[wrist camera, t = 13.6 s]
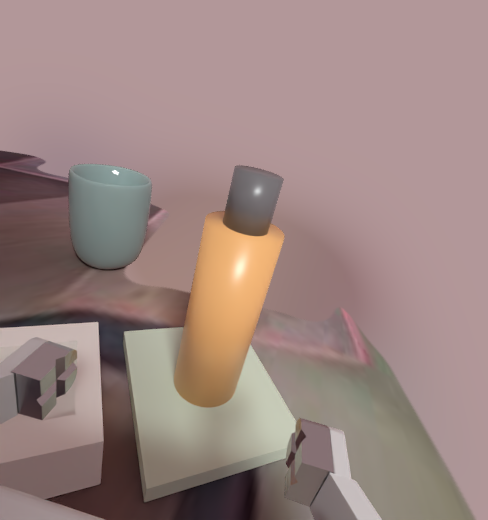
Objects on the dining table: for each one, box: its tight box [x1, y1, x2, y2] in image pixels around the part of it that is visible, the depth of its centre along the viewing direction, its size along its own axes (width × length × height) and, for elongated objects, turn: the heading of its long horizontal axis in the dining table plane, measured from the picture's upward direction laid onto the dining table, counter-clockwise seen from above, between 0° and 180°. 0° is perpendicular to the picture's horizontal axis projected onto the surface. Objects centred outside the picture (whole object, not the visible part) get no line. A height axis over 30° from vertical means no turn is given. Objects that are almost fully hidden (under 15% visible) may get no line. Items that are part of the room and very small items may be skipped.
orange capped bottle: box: [174, 166, 284, 408], centre depth 20 cm, size 4×4×15 cm
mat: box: [123, 327, 297, 502], centre depth 23 cm, size 12×10×1 cm
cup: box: [68, 164, 152, 269], centre depth 35 cm, size 8×8×10 cm
